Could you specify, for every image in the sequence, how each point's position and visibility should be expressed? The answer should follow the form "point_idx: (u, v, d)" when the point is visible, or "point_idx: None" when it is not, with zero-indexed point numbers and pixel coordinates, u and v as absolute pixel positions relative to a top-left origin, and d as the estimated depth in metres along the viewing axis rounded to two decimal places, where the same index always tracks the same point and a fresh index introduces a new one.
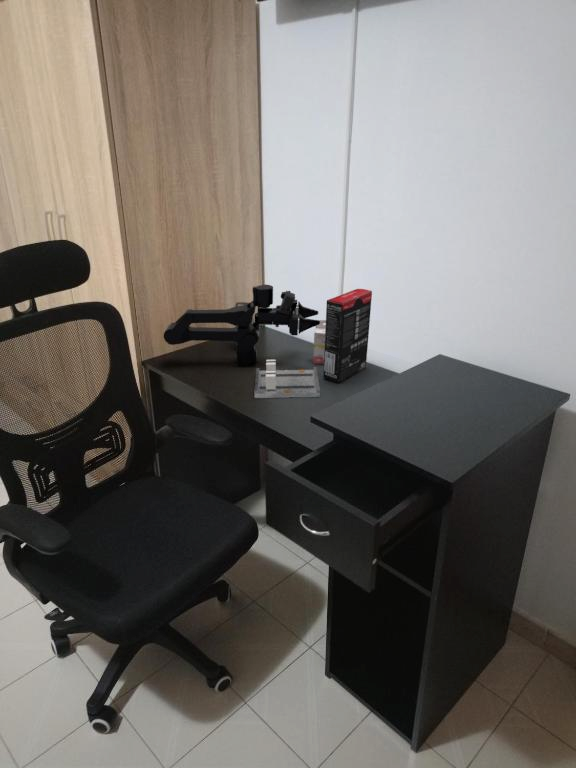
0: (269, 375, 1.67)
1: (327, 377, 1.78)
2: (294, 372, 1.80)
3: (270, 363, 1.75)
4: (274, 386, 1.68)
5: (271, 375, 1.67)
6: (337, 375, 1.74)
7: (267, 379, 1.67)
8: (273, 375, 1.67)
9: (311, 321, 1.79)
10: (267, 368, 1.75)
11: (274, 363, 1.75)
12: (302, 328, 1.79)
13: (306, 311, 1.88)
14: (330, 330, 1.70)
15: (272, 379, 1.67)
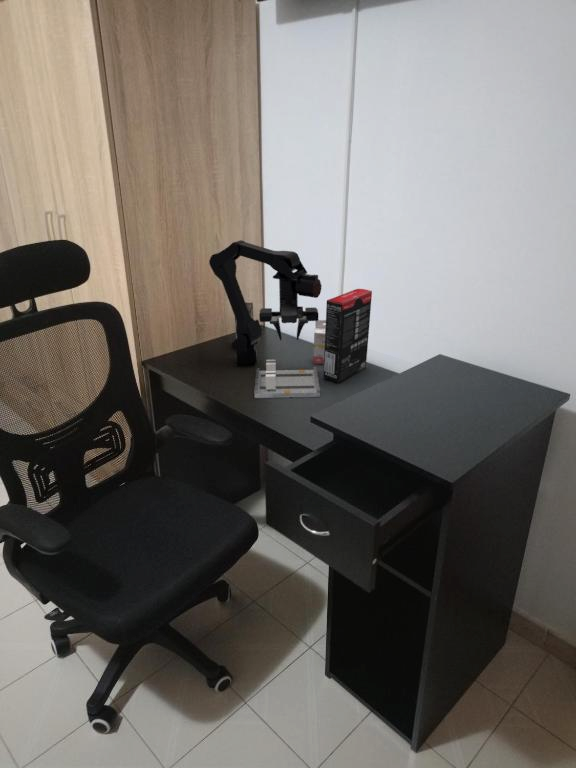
0: (269, 375, 1.67)
1: (327, 377, 1.78)
2: (294, 372, 1.80)
3: (270, 363, 1.75)
4: (274, 386, 1.68)
5: (271, 375, 1.67)
6: (337, 375, 1.74)
7: (267, 379, 1.67)
8: (273, 375, 1.67)
9: None
10: (267, 368, 1.75)
11: (274, 363, 1.75)
12: None
13: (297, 327, 1.76)
14: (330, 330, 1.70)
15: (272, 379, 1.67)
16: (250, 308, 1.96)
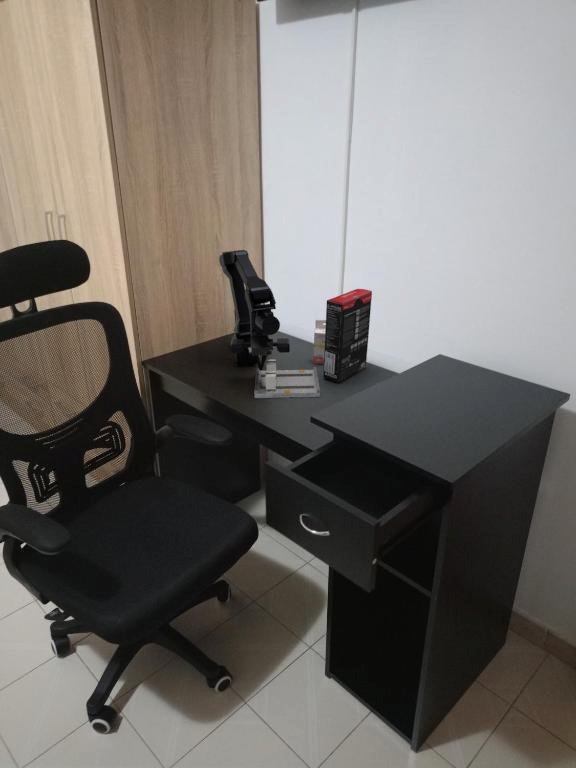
0: (269, 375, 1.67)
1: (327, 377, 1.78)
2: (294, 372, 1.80)
3: (270, 363, 1.75)
4: (274, 386, 1.68)
5: (271, 375, 1.67)
6: (337, 375, 1.74)
7: (267, 379, 1.67)
8: (273, 375, 1.67)
9: (257, 363, 1.76)
10: (267, 368, 1.75)
11: (274, 363, 1.75)
12: None
13: None
14: (330, 330, 1.70)
15: (272, 379, 1.67)
16: None
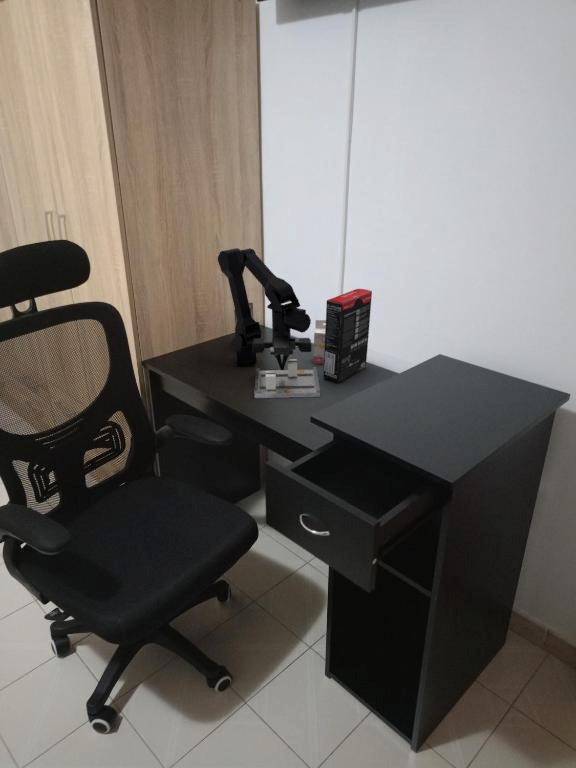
0: (269, 375, 1.67)
1: (327, 377, 1.78)
2: None
3: (292, 363, 1.75)
4: (274, 386, 1.68)
5: (271, 375, 1.67)
6: (337, 375, 1.74)
7: (267, 379, 1.67)
8: (273, 375, 1.67)
9: (278, 362, 1.76)
10: (289, 368, 1.75)
11: (296, 363, 1.75)
12: None
13: None
14: (330, 330, 1.70)
15: (272, 379, 1.67)
16: (250, 308, 1.96)
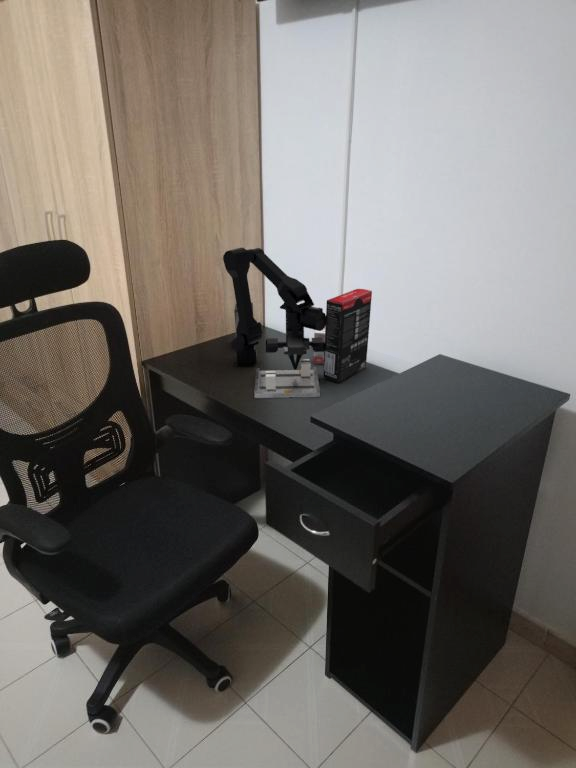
0: (269, 375, 1.67)
1: (327, 377, 1.78)
2: (294, 372, 1.80)
3: (305, 362, 1.75)
4: (274, 386, 1.68)
5: (271, 375, 1.67)
6: (337, 375, 1.74)
7: (267, 379, 1.67)
8: (273, 375, 1.67)
9: (291, 362, 1.76)
10: (302, 367, 1.75)
11: (309, 362, 1.75)
12: None
13: (296, 357, 1.75)
14: (330, 330, 1.70)
15: (272, 379, 1.67)
16: None
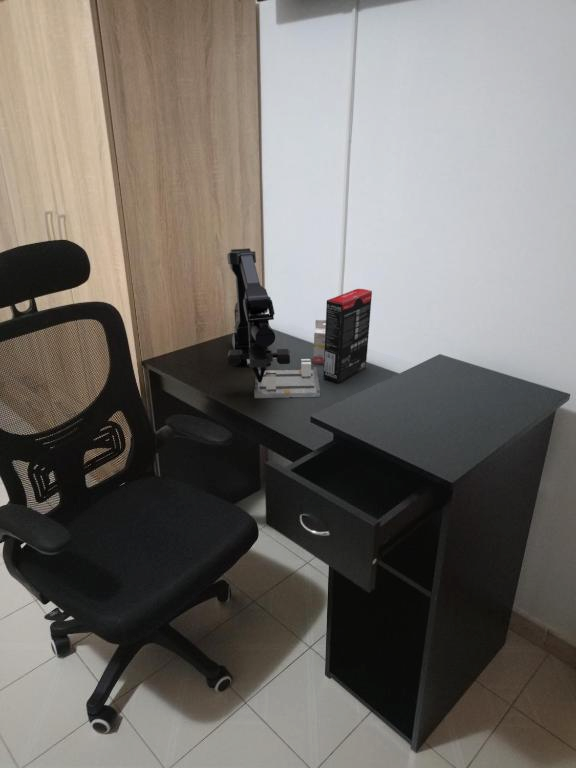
0: (270, 375, 1.67)
1: (327, 377, 1.78)
2: (294, 372, 1.80)
3: (305, 362, 1.75)
4: (274, 386, 1.68)
5: (271, 375, 1.67)
6: (337, 375, 1.74)
7: (267, 379, 1.67)
8: (273, 375, 1.67)
9: (255, 374, 1.68)
10: (302, 367, 1.75)
11: (309, 362, 1.75)
12: None
13: None
14: (330, 330, 1.70)
15: (272, 379, 1.67)
16: None
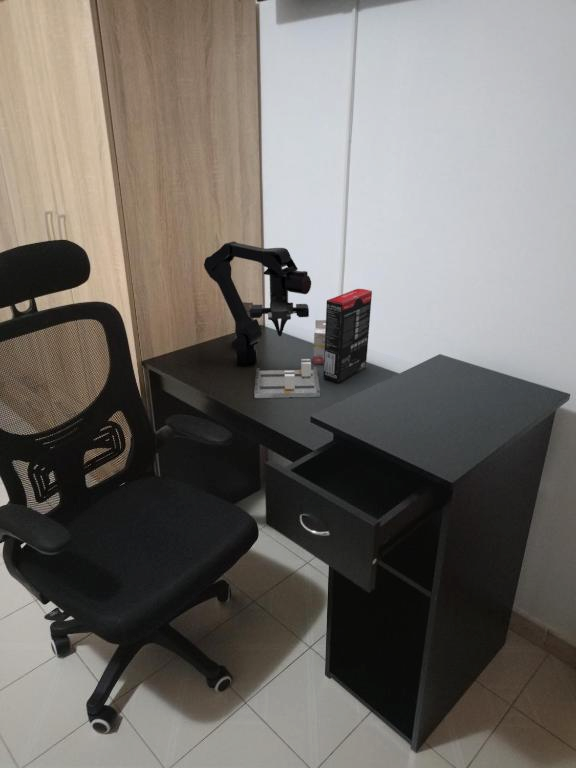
0: (288, 375, 1.67)
1: (327, 377, 1.78)
2: None
3: (305, 362, 1.75)
4: (293, 386, 1.68)
5: (290, 375, 1.67)
6: (337, 375, 1.74)
7: (286, 379, 1.67)
8: (292, 375, 1.67)
9: None
10: (302, 367, 1.75)
11: (309, 362, 1.75)
12: None
13: (280, 324, 1.77)
14: (330, 330, 1.70)
15: (291, 379, 1.67)
16: None
